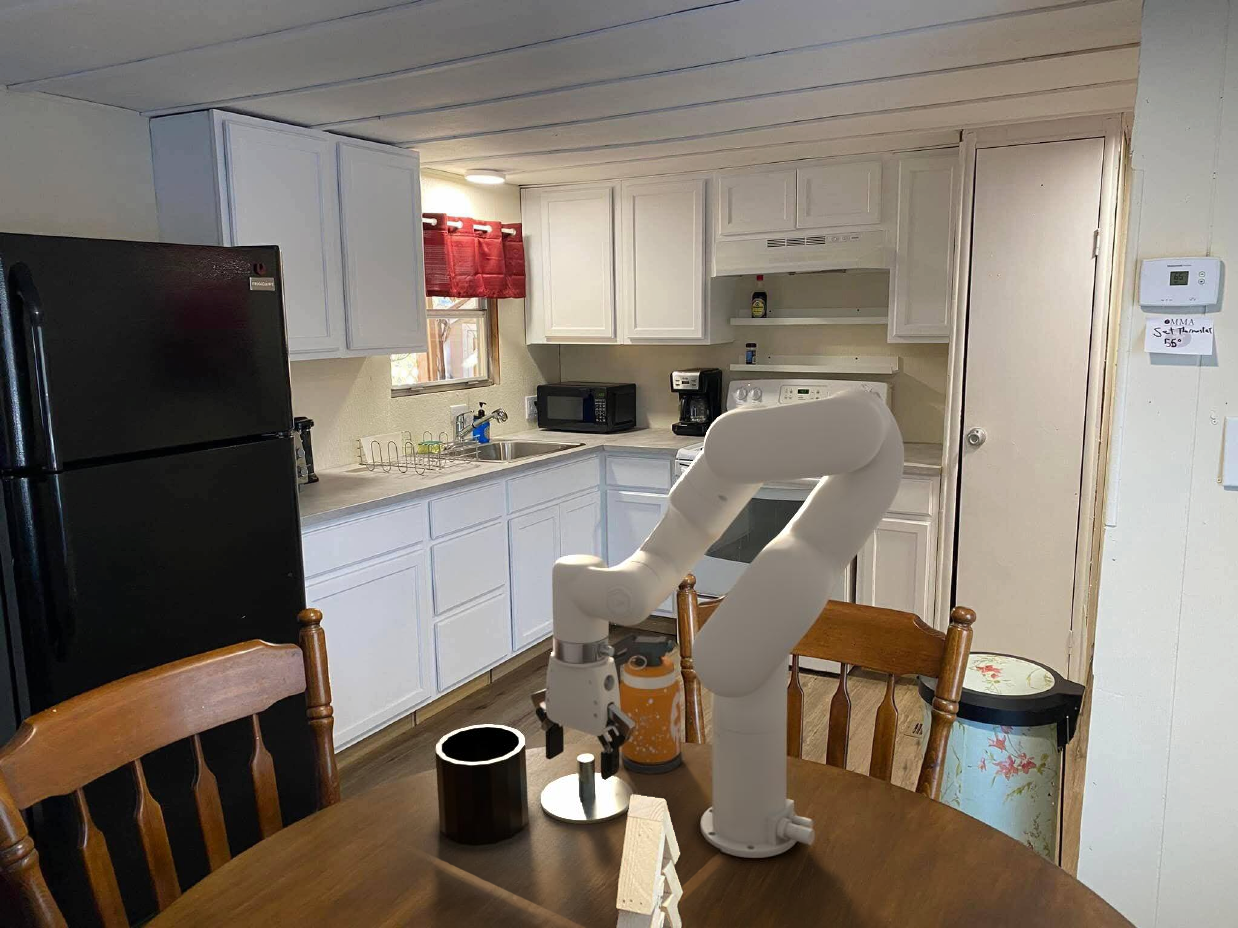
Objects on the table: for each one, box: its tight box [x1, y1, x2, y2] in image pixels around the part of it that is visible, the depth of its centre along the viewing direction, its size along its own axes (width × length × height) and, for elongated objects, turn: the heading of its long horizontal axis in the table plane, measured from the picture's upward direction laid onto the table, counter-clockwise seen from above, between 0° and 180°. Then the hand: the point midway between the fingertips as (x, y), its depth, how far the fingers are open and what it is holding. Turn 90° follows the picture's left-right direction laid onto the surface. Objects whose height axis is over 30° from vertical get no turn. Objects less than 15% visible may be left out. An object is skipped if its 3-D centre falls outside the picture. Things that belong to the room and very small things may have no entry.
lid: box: [540, 753, 634, 825], centre depth 126 cm, size 13×13×7 cm
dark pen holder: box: [434, 724, 530, 847], centre depth 121 cm, size 12×12×12 cm
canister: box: [610, 632, 682, 774], centre depth 136 cm, size 9×11×20 cm
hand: (581, 765), depth 126 cm, fingers open, 9 cm apart
